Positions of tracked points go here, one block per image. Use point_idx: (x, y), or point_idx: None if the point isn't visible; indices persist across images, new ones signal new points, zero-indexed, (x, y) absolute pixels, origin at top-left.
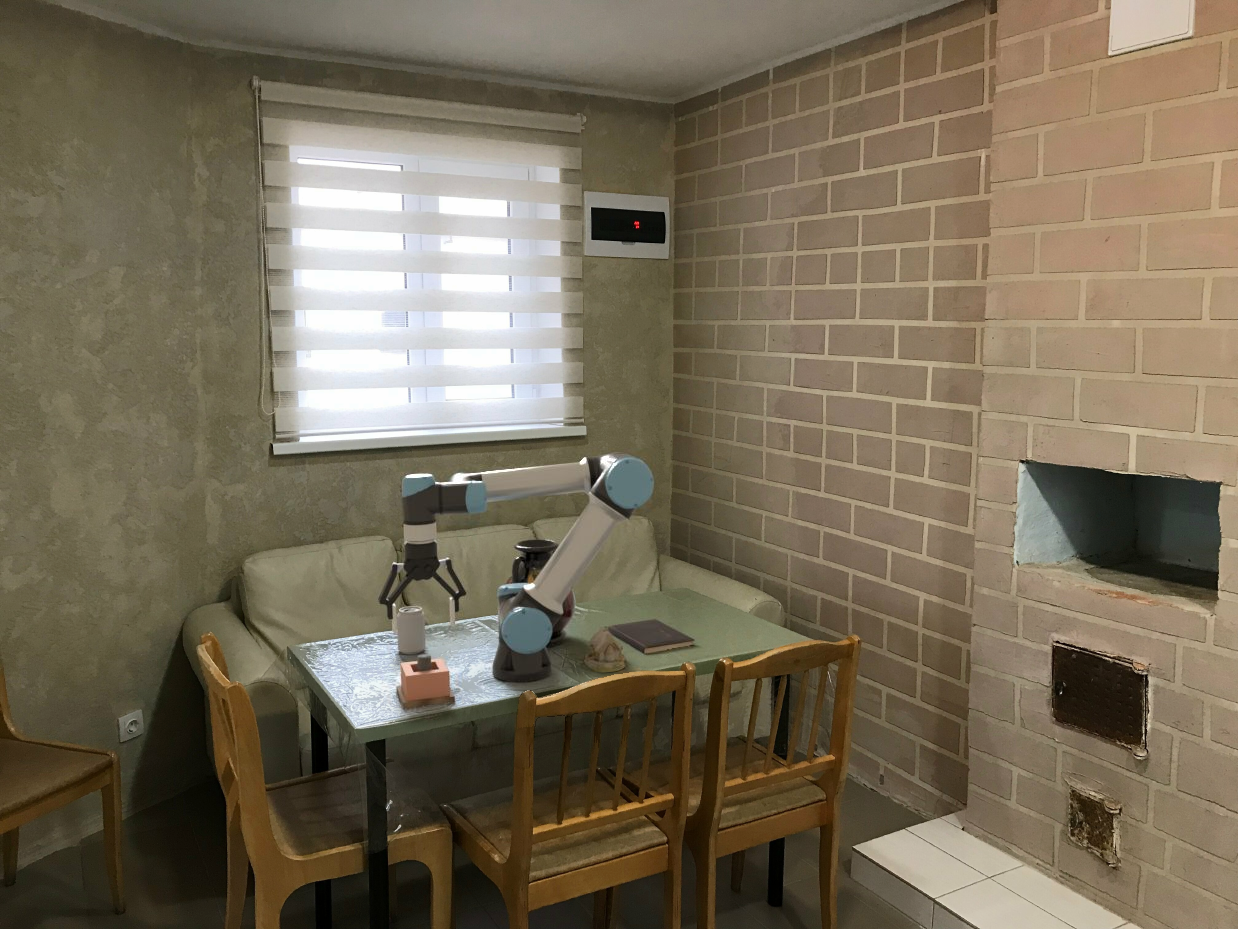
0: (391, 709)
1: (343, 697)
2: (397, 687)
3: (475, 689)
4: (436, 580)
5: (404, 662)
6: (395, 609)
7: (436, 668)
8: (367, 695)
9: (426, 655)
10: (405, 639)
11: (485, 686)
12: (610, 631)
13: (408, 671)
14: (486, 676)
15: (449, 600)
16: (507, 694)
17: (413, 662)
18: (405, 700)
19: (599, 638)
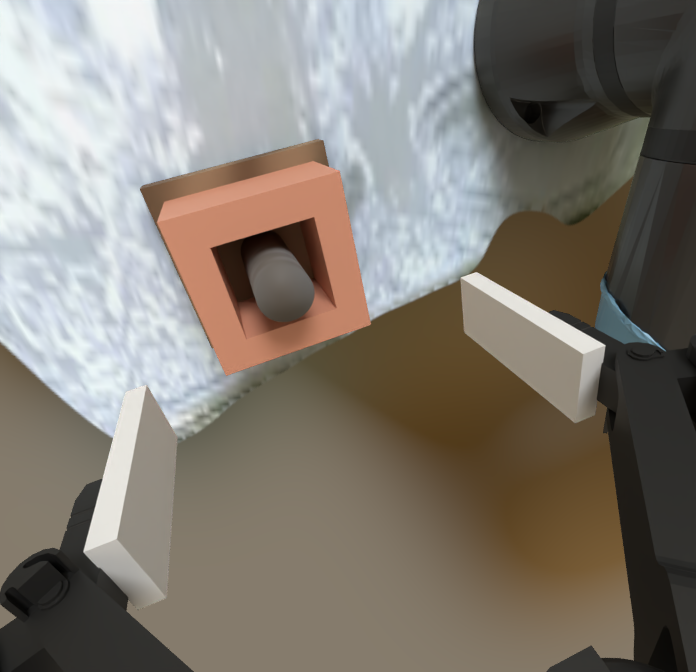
0: (174, 338)
1: None
2: (149, 206)
3: (408, 186)
4: (635, 656)
5: (175, 218)
6: (163, 573)
7: (316, 240)
8: (27, 209)
9: (294, 281)
10: None
11: (437, 161)
12: None
13: (223, 329)
14: (451, 48)
15: (566, 352)
16: (483, 237)
17: (219, 220)
18: None
19: None
